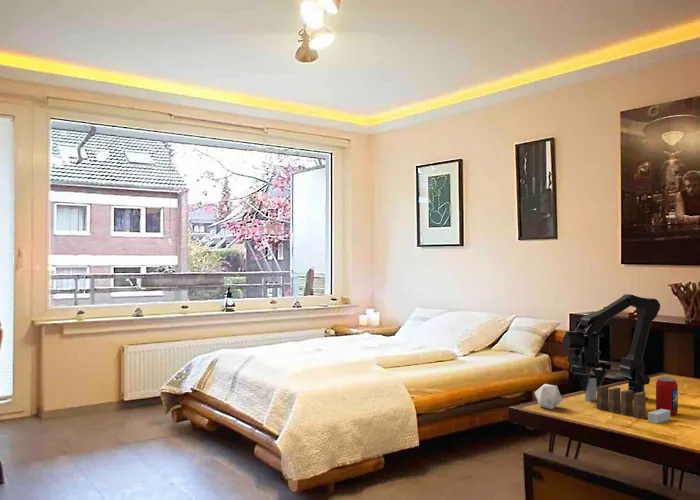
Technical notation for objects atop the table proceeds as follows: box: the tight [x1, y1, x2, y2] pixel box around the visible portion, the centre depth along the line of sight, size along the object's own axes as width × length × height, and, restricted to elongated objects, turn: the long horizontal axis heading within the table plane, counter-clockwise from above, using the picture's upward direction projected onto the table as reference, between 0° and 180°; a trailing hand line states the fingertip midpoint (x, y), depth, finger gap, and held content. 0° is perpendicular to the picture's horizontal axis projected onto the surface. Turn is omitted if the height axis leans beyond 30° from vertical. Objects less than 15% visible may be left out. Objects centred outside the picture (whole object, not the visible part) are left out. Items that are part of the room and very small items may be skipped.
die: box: [533, 383, 563, 410], centre depth 221 cm, size 8×9×10 cm
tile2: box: [608, 386, 621, 413], centre depth 216 cm, size 2×5×8 cm, turn 128°
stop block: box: [647, 409, 671, 425], centre depth 203 cm, size 9×3×3 cm, turn 128°
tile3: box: [620, 389, 634, 416], centre depth 212 cm, size 2×5×8 cm, turn 128°
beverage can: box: [655, 377, 679, 416], centre depth 213 cm, size 7×7×12 cm
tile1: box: [596, 385, 610, 411], centre depth 219 cm, size 2×5×8 cm, turn 128°
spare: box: [584, 377, 597, 402], centre depth 233 cm, size 2×5×8 cm, turn 128°
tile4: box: [633, 392, 647, 419], centre depth 209 cm, size 2×5×8 cm, turn 128°
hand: (591, 389), depth 233 cm, fingers open, 9 cm apart
